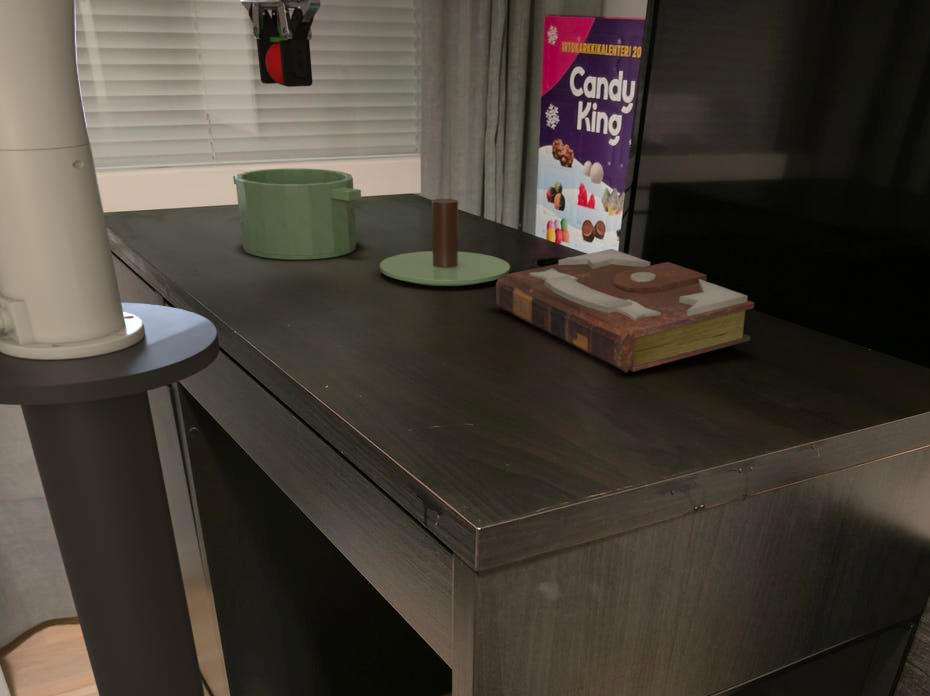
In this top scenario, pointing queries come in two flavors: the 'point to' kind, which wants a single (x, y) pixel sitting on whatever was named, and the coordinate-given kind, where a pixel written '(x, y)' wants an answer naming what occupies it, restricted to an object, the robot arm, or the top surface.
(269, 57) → the tomato
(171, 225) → the top surface
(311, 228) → the pot
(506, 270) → the lid
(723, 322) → the book
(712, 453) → the top surface
